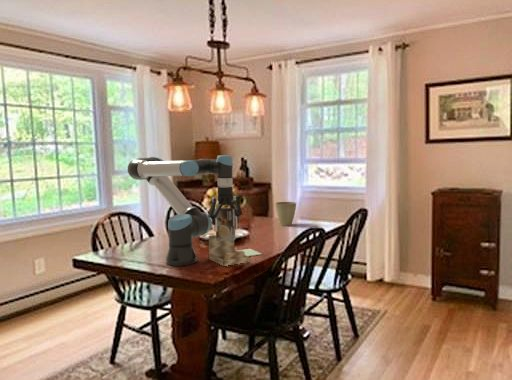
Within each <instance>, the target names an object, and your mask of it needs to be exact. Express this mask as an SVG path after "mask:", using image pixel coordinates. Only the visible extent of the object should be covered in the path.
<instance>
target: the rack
mask: <svg viewBox="0 0 512 380" xmlns="http://www.w3.org/2000/svg"><path fill="white" fill-rule="evenodd" d="M235 251H236V250H235V240H234V241H216V234H215V235H208V258H209V259H208V260H210V261H212V262H213V261H214V262H213V263H215V262H216V264H217V263H218V264H217V265H219V264H220V265H219V266H221V265H222V266H221V267H223V266H227V267H229V266H228V265H233V266H235V265H234V264H238V265H241V264H240V263H244V264H248V263H247V262H249V263H250V257H249V256H246V255H245V257H242V258H236V259H230V260H223V259H222V258H225V253H229V252H235Z"/></svg>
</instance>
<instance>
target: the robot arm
mask: <svg viewBox="0 0 512 380" xmlns="http://www.w3.org/2000/svg"><path fill="white" fill-rule="evenodd" d="M233 165H234V162H233V157H232V156H231V155H225V154H222V155H220V154H218V155H217V157H216V159H215V158H200V159H188V160H187V159H186V160H163V159H162V158H160V157H157V156H156V157H155V156H151V157H137V158H134V159H132V160H131V161H129V163H128V165H127V173H128V175H129V177H131V178H132V179H133V180H138V181H141V180H142V181H143V180H146V181H147V182H148V183H149V185H150V186H154V187H155V188H156V189H157V191H158V192H159V193H160V194H161V195H162V197H163V198H164V199H165V201H167V203H168V204H169V205H170V206H171V208H172V209H173V210H174V212H175V213H176V214H175V215H173V216H170V217H169V219H168V220H167V222H168V225H167V229H168V231H167V233H168V251H167V253H166V254H167V255H166V258H165V264H167V265H168V266H171V265H172V266H173V267H183V266H182V265H185V266H190V265H189V264H191V265H194V264H195V262H196V263H197V254H196V252H195V249H194V245H193V241H194V240H193V239H194V238H195V239H196V238H198V237H202V236H204V235H207V234H208V233H209V231H211V229H212V226H213V231H214V232H215V233H216V232H217V218H216V216H217V214H218V213H219V211H220V209H221V208H223V206H229V208H234V212H235V230H238V223H239V222H240V221H239V218H240V216H241V215H243V212H242V208H241V205H240V202H239V196H238V195H234V196H233V193H234V190H233V189H234V187H233V182H234V179H233ZM200 175H201V176H202V175H217V186H218V187H217V197H211V203H210V208H209V212H208V213H206V212H204V211H203V212H201V210H199V208H198V207H197V206H193V205H192V204H191V203H190V202H189V201H188V199H187V198H186V197H185V195H184V194H183V193H182V192H181V191H180V189H179V188H178V187H177V186H176V185H175V183H174V182H173V180H171V178H169V177H178V176H179V177H182V176H185V177H194V176H200ZM233 201H234V202H233ZM217 202H218V203H217ZM216 204H217V206H216ZM234 205H235V206H234ZM193 263H194V264H193Z"/></svg>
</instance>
